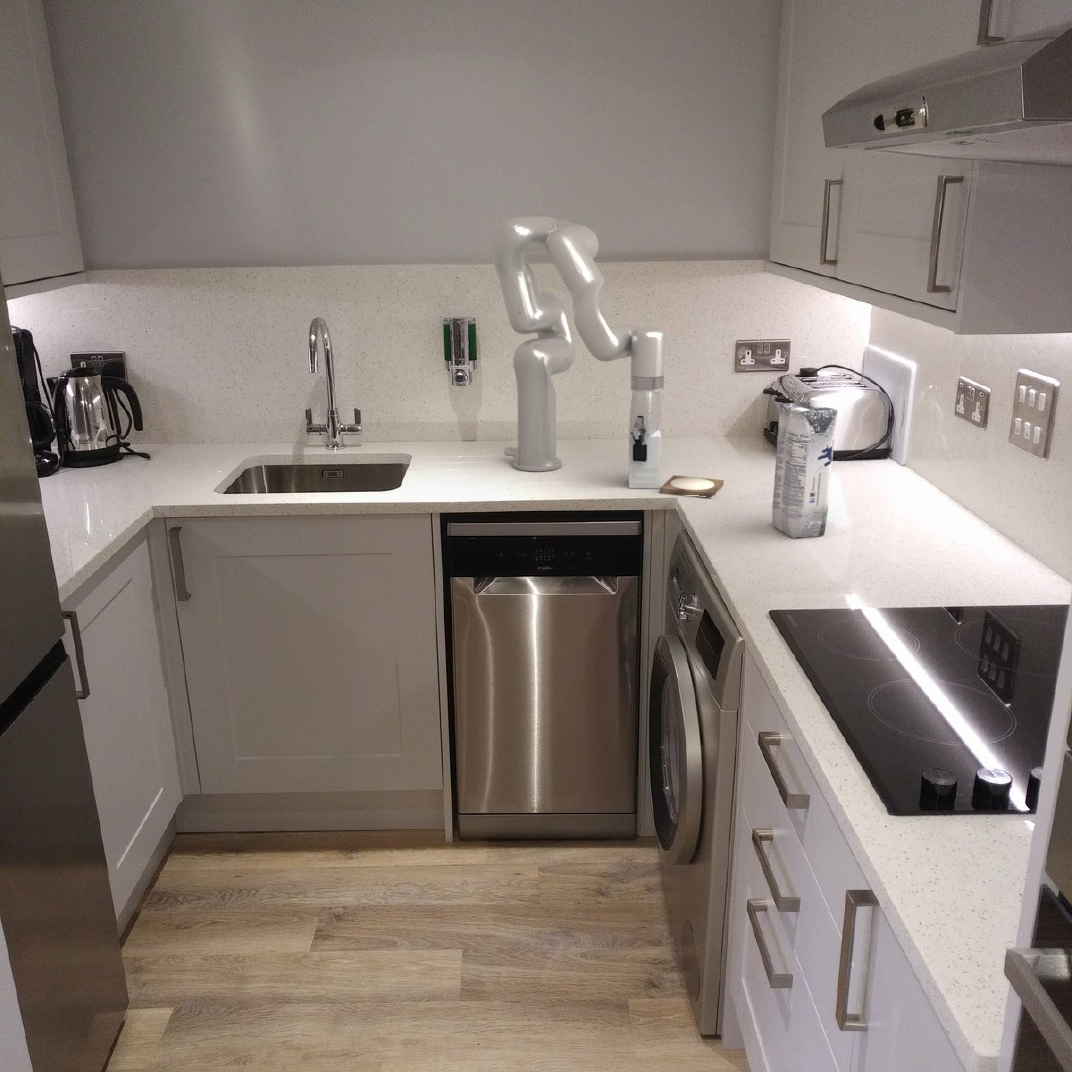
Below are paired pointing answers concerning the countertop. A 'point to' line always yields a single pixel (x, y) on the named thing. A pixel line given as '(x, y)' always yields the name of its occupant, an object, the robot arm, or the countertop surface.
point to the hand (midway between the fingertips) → (645, 456)
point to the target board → (691, 486)
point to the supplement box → (646, 463)
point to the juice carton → (803, 467)
